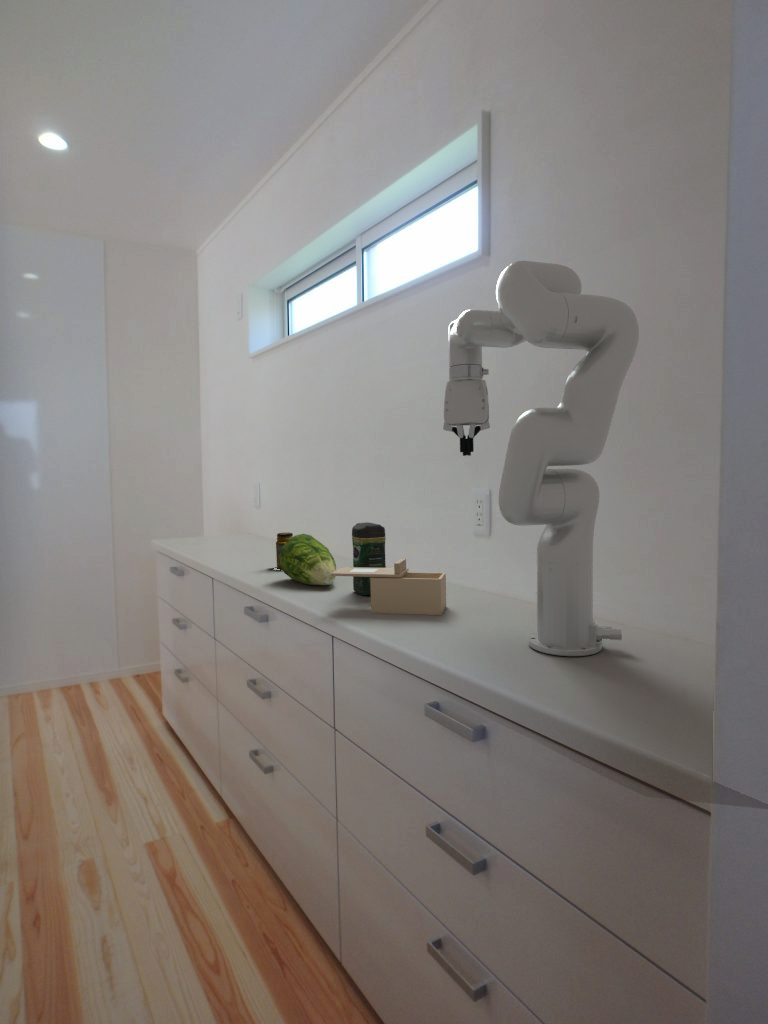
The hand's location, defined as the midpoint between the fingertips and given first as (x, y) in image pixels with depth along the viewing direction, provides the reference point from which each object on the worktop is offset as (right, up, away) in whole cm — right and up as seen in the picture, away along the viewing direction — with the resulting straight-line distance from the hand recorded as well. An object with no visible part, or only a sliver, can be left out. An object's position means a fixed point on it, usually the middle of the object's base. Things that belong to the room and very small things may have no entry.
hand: (466, 455), depth 136 cm
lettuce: (-40, -34, +34) cm, 62 cm away
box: (-13, -36, -1) cm, 38 cm away
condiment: (-53, -32, +60) cm, 86 cm away
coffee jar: (-23, -35, +19) cm, 46 cm away
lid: (-22, -28, 0) cm, 36 cm away
